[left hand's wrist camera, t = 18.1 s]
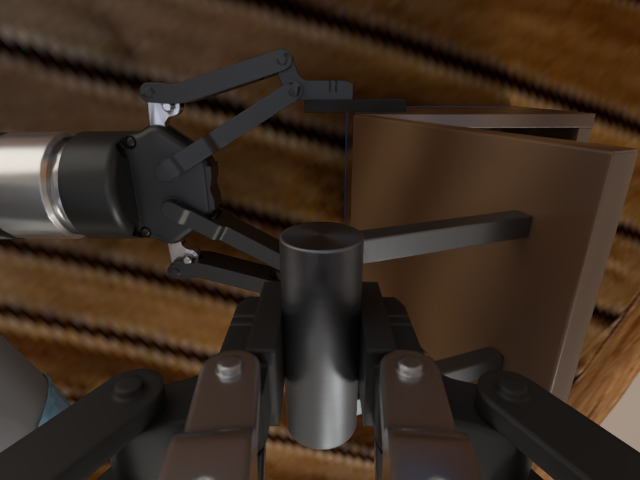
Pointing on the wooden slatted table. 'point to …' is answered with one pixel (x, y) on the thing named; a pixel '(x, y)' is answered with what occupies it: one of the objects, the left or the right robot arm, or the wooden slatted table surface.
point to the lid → (450, 260)
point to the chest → (480, 127)
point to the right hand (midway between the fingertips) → (396, 184)
